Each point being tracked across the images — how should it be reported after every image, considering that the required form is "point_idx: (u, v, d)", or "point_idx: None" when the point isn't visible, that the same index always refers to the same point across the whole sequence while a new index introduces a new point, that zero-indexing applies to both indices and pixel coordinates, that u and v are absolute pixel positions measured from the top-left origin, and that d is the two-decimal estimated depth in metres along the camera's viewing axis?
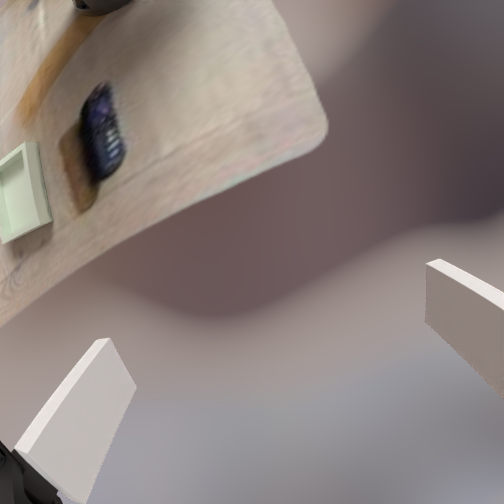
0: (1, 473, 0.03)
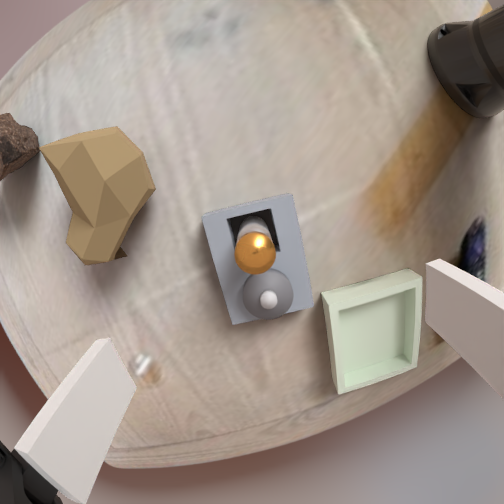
0: (1, 473, 0.03)
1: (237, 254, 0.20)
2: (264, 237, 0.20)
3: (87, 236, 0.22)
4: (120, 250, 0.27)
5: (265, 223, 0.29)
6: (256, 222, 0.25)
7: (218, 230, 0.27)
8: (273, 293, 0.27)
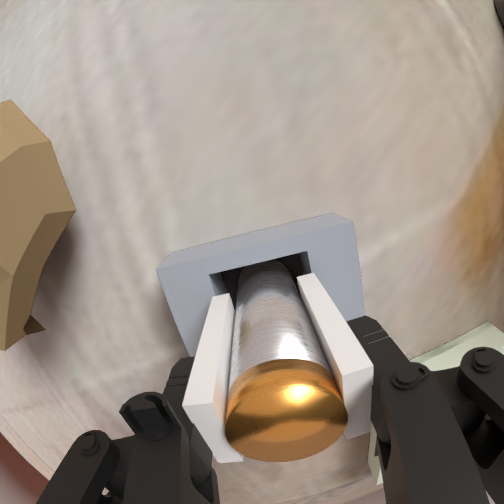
0: (159, 448, 0.04)
1: (234, 433, 0.06)
2: (321, 394, 0.05)
3: None
4: (31, 321, 0.12)
5: (290, 275, 0.14)
6: (277, 290, 0.11)
7: (193, 298, 0.12)
8: None
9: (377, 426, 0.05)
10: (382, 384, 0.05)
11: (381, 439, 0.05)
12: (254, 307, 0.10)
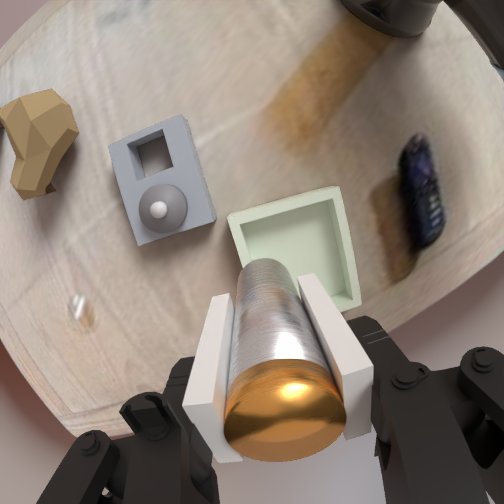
0: (159, 448, 0.04)
1: (233, 432, 0.06)
2: (319, 394, 0.05)
3: (21, 169, 0.22)
4: (50, 185, 0.27)
5: (289, 275, 0.14)
6: (276, 289, 0.11)
7: (121, 155, 0.27)
8: (162, 202, 0.26)
9: (377, 426, 0.05)
10: (382, 384, 0.05)
11: (381, 439, 0.05)
12: (253, 307, 0.10)
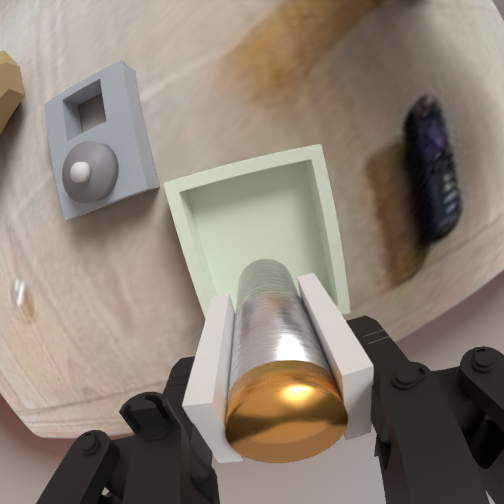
0: (159, 448, 0.04)
1: (234, 434, 0.06)
2: (321, 396, 0.05)
3: None
4: None
5: (290, 276, 0.14)
6: (277, 290, 0.11)
7: (55, 113, 0.18)
8: (84, 163, 0.18)
9: (377, 426, 0.05)
10: (382, 384, 0.05)
11: (381, 439, 0.05)
12: (254, 308, 0.10)
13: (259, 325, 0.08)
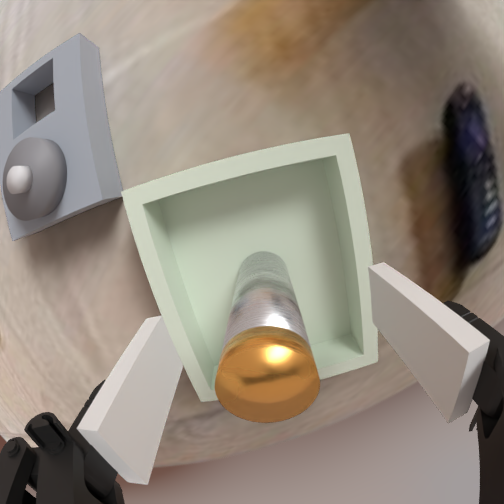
0: (58, 460, 0.04)
1: (222, 388, 0.07)
2: (293, 354, 0.07)
3: None
4: None
5: (285, 266, 0.16)
6: (269, 276, 0.12)
7: (3, 106, 0.12)
8: (22, 167, 0.11)
9: (483, 396, 0.04)
10: (499, 351, 0.04)
11: (484, 410, 0.04)
12: (247, 289, 0.11)
13: (249, 301, 0.10)
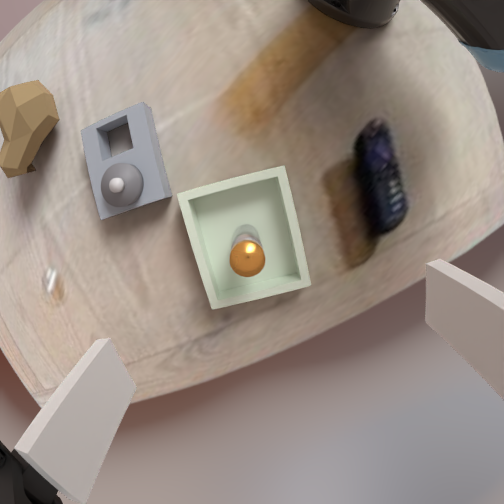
0: (1, 473, 0.03)
1: (232, 260, 0.23)
2: (255, 245, 0.23)
3: (6, 149, 0.23)
4: (31, 165, 0.27)
5: (256, 230, 0.32)
6: (248, 230, 0.29)
7: (90, 138, 0.28)
8: (120, 178, 0.27)
9: None
10: None
11: None
12: (239, 234, 0.27)
13: (240, 236, 0.26)
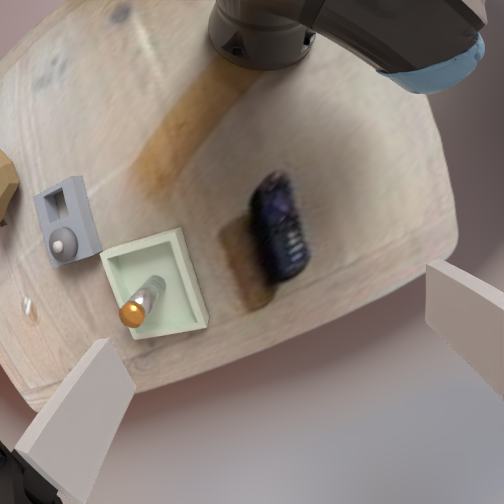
0: (1, 473, 0.03)
1: (121, 316, 0.29)
2: (133, 307, 0.29)
3: None
4: (3, 221, 0.33)
5: (161, 281, 0.38)
6: (146, 286, 0.34)
7: (40, 204, 0.33)
8: (59, 242, 0.33)
9: None
10: None
11: None
12: (136, 291, 0.33)
13: (133, 294, 0.32)
